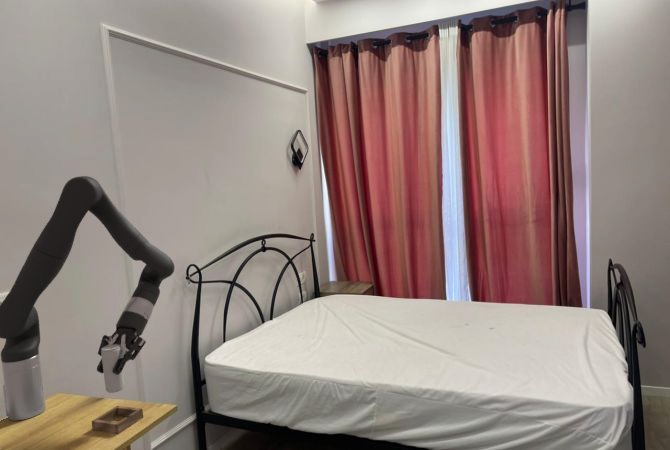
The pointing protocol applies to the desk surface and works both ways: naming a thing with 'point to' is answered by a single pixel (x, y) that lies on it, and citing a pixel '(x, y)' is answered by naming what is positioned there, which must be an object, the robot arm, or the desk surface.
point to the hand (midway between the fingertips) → (107, 372)
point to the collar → (117, 427)
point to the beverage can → (109, 360)
